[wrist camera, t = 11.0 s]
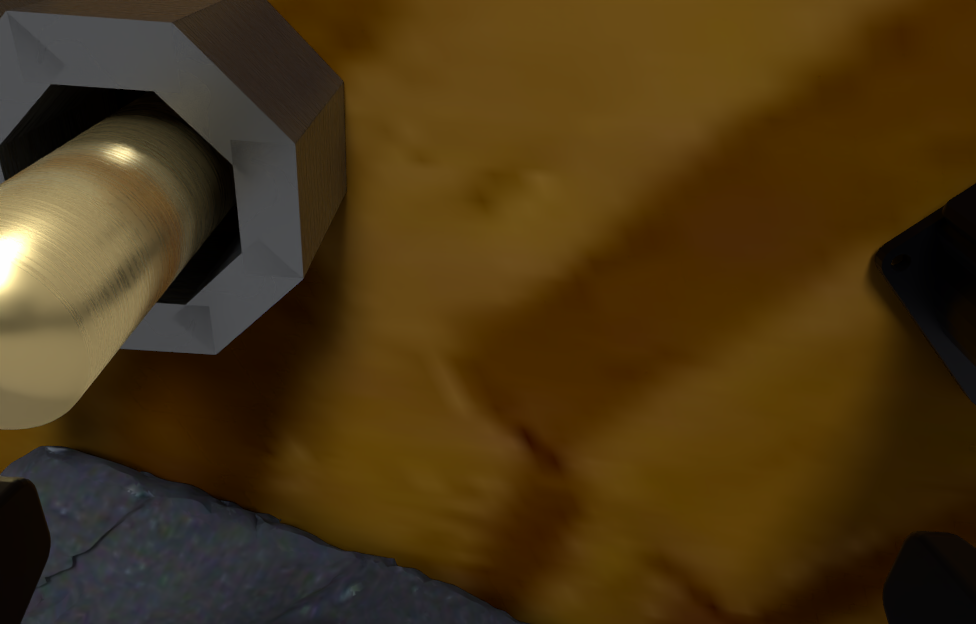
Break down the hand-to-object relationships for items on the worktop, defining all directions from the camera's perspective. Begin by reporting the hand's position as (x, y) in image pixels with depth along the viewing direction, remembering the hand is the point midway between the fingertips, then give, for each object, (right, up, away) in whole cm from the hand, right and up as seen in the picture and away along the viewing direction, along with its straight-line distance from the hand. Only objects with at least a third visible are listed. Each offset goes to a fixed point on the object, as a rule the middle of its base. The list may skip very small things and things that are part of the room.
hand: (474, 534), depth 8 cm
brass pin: (-7, +7, +11) cm, 15 cm away
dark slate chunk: (-8, -10, +21) cm, 25 cm away
